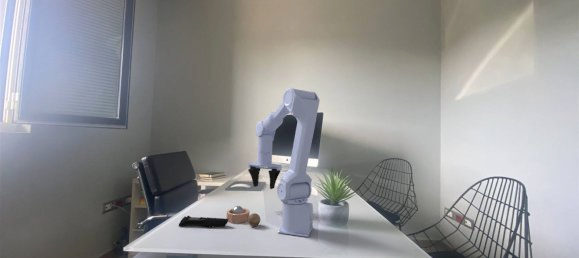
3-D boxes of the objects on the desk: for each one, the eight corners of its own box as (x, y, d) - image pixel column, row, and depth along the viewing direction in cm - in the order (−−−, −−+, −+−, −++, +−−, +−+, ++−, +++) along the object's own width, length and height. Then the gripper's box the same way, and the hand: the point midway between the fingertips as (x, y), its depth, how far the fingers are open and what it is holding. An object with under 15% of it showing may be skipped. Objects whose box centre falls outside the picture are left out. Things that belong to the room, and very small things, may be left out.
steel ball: (245, 216, 82) (245, 204, 83) (240, 219, 79) (239, 207, 79) (236, 215, 84) (235, 204, 84) (229, 219, 80) (229, 207, 80)
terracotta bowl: (252, 216, 84) (252, 209, 84) (242, 224, 76) (242, 215, 76) (233, 214, 86) (234, 207, 86) (222, 221, 78) (222, 213, 78)
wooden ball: (262, 224, 76) (262, 212, 77) (257, 229, 73) (257, 216, 73) (251, 223, 77) (251, 211, 78) (245, 227, 74) (246, 214, 74)
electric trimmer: (225, 230, 72) (226, 220, 72) (177, 227, 73) (178, 217, 73) (229, 226, 76) (230, 216, 76) (183, 223, 77) (184, 213, 77)
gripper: (243, 152, 91) (242, 186, 90) (275, 153, 84) (274, 191, 84) (254, 151, 97) (253, 184, 97) (284, 153, 91) (283, 188, 90)
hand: (263, 187), depth 91 cm, fingers open, 7 cm apart
